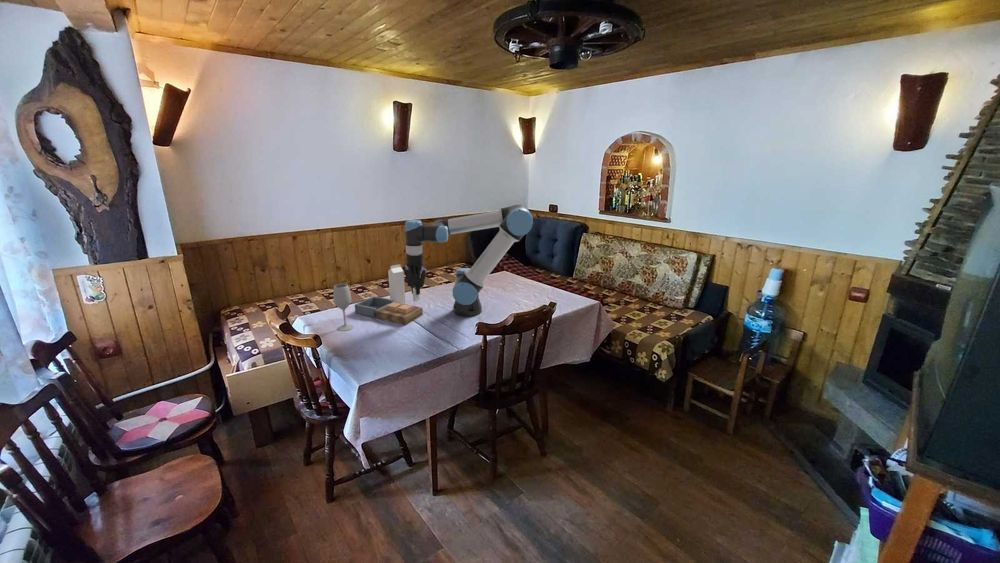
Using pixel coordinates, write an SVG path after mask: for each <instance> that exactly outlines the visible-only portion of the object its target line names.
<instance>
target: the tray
mask: <svg viewBox="0 0 1000 563" xmlns="http://www.w3.org/2000/svg"><path fill="white" fill-rule="evenodd" d="M391 303H393V300H391V299H390V298H386V297H381V296H380V297H379V296H376V295H372V296H371V297H368V298H367V299H365V300H362V301H360V302H357V303H356V304H354V309H355V310H354V311H355V315H359V316H364V317H367V318H373V319H376V311H377V310H379V309H381V308H383V307H385V306H387V305H389V304H391Z"/></svg>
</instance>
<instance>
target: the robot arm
mask: <svg viewBox="0 0 1000 563" xmlns="http://www.w3.org/2000/svg"><path fill="white" fill-rule="evenodd" d="M404 223H405V224H404V233H405V234H404V235H405V253H406V255H405V257H406V265H404V266H402V270H403V271H404V277H405V279H406V283H407V287H410V288H411V295H412V301H413V302H418V301H420V295H421V289H422V288H424V284H425V280H426V275H427V272H428V268H425V267H424V265H423V260H424V259H423V258H424V257H423V256H424V254H423V242H429V243H430V242H433V243H447V242H448V240H449V236H450V235H457V234H462V233H467V232H473V231H480V230H486V229H487V230H488V229H492V228H499V231H498V232H497V233H496V235H495V236H494V238H493V239H492V240H491V242H490V243H489V244H488V245H487V246H486V248H485V249H484V251H483V252H482V253H481V254H480V256H479V257H478V259H476V261H475V263H474V264H473V265H472V266H471V268H470V267H463V268H462V267H461V268H458V269H456V270H455V282H454V285H453V287H452V296H453V299H454V303H453V307H452V308H453V309H452V311H453V313H454V314H455V315H457V316H460V317H461V316H462V317H474V316H477V315H480V314H481V313H482V311H483V306H482V303H481V300H480V298H479V293H480V292H481V291H482V290H483V288H484V287H485V281H486V279H487V277H488V276H489V275H491V273H492V271H493V270H494V269H495V267H496V266H497V265H498V263H499V262H501V260H502V258H503V257H504V256H505V255H506V253H507V252H508V251H509V250H510V248H511V247H512V246H513V245H514V243H517V242H520V241H521V240H522V238H523V237H524V236H525V235H527V234H528V233H529V232H530V231H531V230H532V227H533V224H534V218H533V215H532V213H531V212H530V209H528V207H526V206H525V205H522V204H515V205H511V206H506V207H501V208H499V209H498V210H496V211H490V212H484V213H478V214H471V215H465V216H459V217H453V218H449V219H448V218H447V219H437V220H435V221H433V223H432V224H431V225H428V224H427V225H425V224H423V222H422V221H421V220H419V219H409V220H406V221H405V222H404Z"/></svg>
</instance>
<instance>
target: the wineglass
mask: <svg viewBox="0 0 1000 563" xmlns="http://www.w3.org/2000/svg"><path fill="white" fill-rule="evenodd" d="M350 291H351V290H350V288H349V285H348V283H337V284H335V285H334V286H333V296H332V297H333V298H332V299H333V303H334V306H336V307H337V308H338V309H340V310H342V313H343V322H344V323H343V324H341V325H339V326H338V327H337V330H338V331H341V332H345V331H346V332H347V331H351V330H352V329H354V327H355V326H354V325H353V324H351V323H347V320H346V312H345V311H346V309H347V308H348V307H349V306H350V305H351V303H352V296H351V295H352V294H351V292H350Z"/></svg>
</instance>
